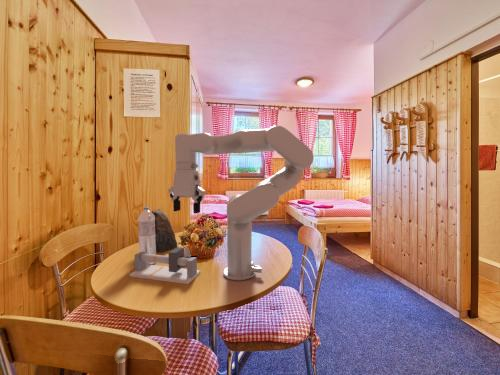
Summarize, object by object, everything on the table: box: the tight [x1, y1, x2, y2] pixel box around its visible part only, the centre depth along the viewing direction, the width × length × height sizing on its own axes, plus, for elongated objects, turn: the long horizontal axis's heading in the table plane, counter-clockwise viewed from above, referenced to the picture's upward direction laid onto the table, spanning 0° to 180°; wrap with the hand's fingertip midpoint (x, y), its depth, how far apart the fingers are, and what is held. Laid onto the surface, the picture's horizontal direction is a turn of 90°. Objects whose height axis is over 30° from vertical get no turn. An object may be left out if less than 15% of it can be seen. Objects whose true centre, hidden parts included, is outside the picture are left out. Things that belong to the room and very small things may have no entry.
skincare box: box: [184, 230, 191, 258], centre depth 119 cm, size 6×4×12 cm
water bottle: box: [137, 206, 157, 265], centre depth 108 cm, size 7×7×25 cm
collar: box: [167, 246, 185, 272], centre depth 96 cm, size 3×6×8 cm, turn 165°
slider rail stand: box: [129, 252, 201, 285], centre depth 98 cm, size 25×10×8 cm, turn 76°
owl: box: [151, 208, 178, 254], centre depth 129 cm, size 13×13×20 cm
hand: (186, 211), depth 95 cm, fingers open, 9 cm apart
